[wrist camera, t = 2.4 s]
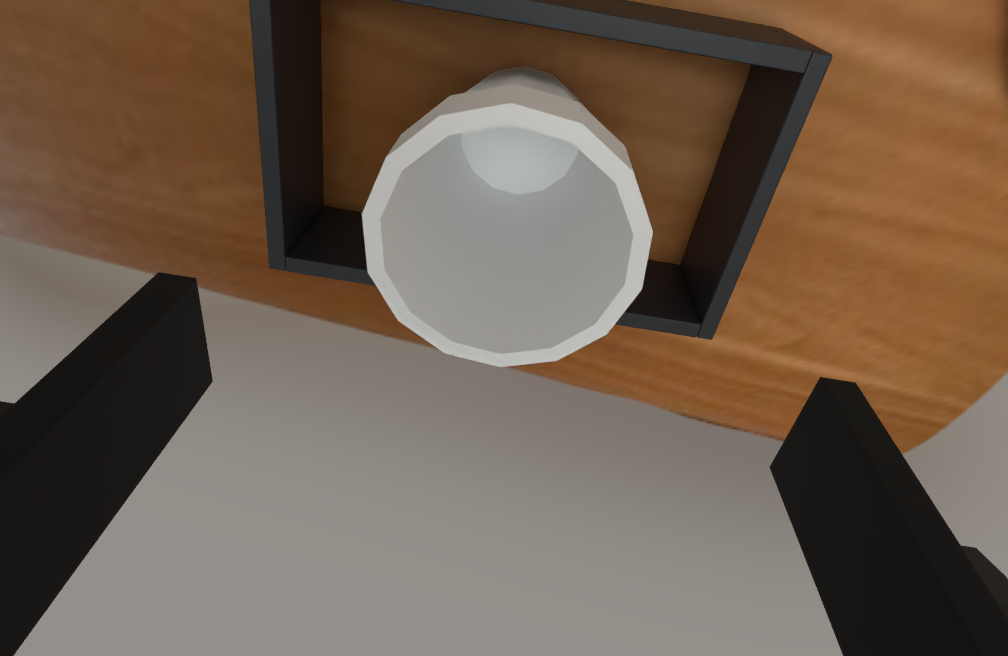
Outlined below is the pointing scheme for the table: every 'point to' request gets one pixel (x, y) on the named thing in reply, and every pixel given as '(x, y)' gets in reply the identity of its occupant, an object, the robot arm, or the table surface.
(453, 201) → the foam cup
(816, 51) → the organiser
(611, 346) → the table surface
